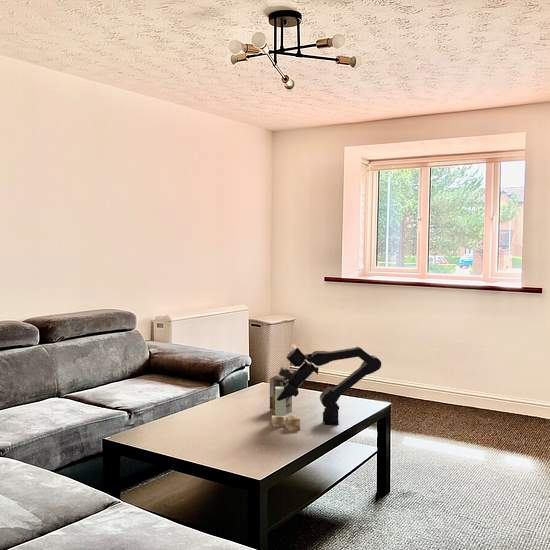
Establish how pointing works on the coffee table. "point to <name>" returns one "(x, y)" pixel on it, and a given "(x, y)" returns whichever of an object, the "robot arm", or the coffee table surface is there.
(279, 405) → the sage block
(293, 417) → the oak cube
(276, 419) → the maple slab
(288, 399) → the coffee box
